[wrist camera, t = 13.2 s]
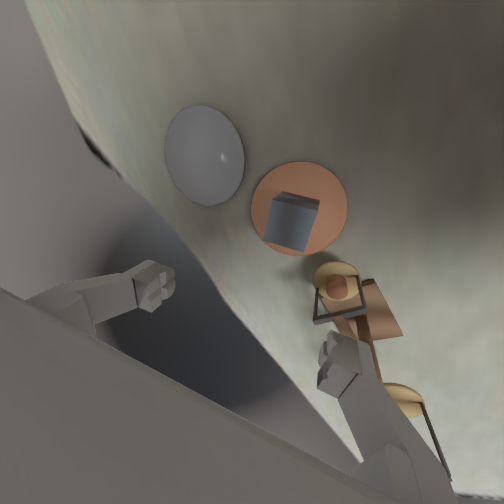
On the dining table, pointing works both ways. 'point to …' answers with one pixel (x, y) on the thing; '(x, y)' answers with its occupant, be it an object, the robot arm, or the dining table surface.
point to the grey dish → (204, 155)
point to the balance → (365, 326)
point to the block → (291, 220)
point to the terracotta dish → (309, 185)
